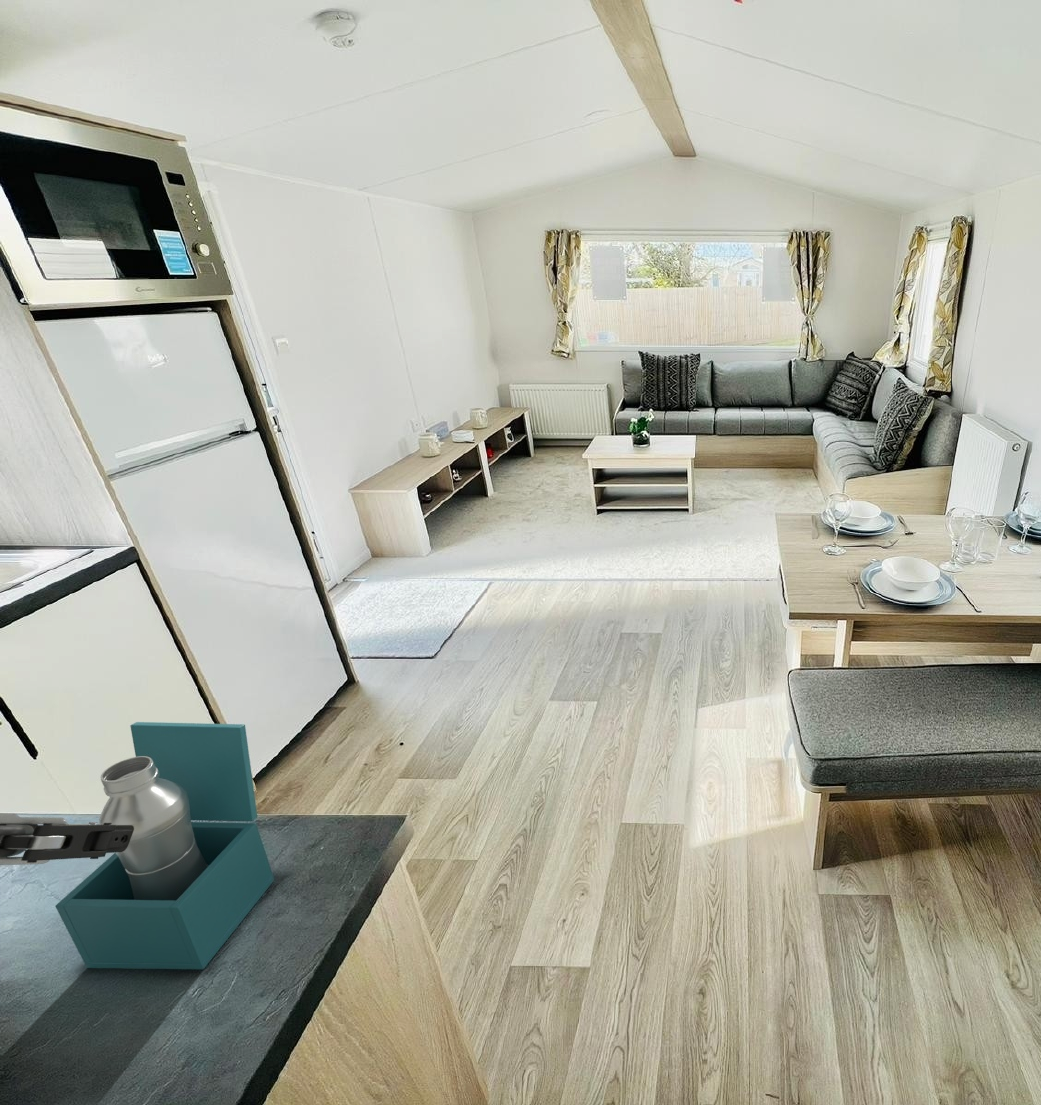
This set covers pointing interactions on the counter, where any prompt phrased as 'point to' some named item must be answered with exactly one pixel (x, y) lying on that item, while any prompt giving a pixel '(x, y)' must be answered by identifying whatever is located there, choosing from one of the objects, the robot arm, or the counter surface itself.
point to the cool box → (170, 906)
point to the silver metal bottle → (152, 829)
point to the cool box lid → (202, 766)
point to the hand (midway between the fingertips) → (78, 837)
